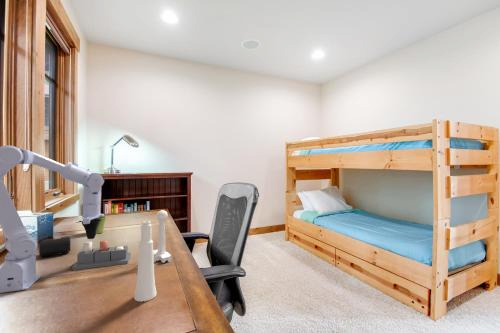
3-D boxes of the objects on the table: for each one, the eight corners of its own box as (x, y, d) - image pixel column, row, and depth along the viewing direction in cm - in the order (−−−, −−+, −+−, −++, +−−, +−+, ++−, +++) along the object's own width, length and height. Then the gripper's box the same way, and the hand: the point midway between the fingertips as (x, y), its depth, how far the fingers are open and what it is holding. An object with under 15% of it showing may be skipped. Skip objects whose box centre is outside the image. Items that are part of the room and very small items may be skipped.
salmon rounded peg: (107, 253, 93) (107, 242, 93) (98, 254, 92) (99, 242, 92) (108, 251, 95) (108, 240, 95) (100, 252, 94) (100, 240, 94)
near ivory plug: (90, 255, 91) (90, 243, 91) (82, 256, 90) (82, 244, 90) (92, 253, 94) (92, 241, 94) (84, 253, 93) (84, 242, 93)
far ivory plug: (122, 259, 95) (122, 248, 95) (114, 260, 94) (115, 249, 94) (123, 257, 97) (124, 246, 97) (116, 258, 96) (116, 246, 96)
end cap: (39, 259, 95) (39, 243, 95) (41, 254, 101) (41, 238, 101) (70, 254, 101) (70, 238, 101) (70, 249, 107) (70, 234, 107)
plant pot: (88, 231, 136) (88, 216, 136) (107, 230, 140) (107, 215, 140) (84, 236, 128) (85, 219, 128) (105, 234, 132) (105, 218, 132)
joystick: (173, 260, 96) (174, 211, 96) (155, 266, 90) (156, 213, 90) (159, 253, 103) (160, 207, 103) (142, 258, 98) (143, 210, 98)
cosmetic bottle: (160, 295, 70) (161, 221, 70) (139, 304, 65) (140, 224, 65) (150, 288, 74) (151, 218, 74) (130, 296, 69) (131, 221, 69)
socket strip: (127, 263, 92) (127, 251, 92) (72, 270, 86) (72, 256, 86) (130, 255, 101) (130, 243, 101) (80, 260, 95) (80, 248, 95)
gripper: (99, 206, 87) (98, 243, 87) (107, 200, 100) (107, 232, 100) (76, 206, 84) (75, 245, 84) (88, 201, 98) (87, 234, 98)
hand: (91, 238), depth 92 cm, fingers closed
